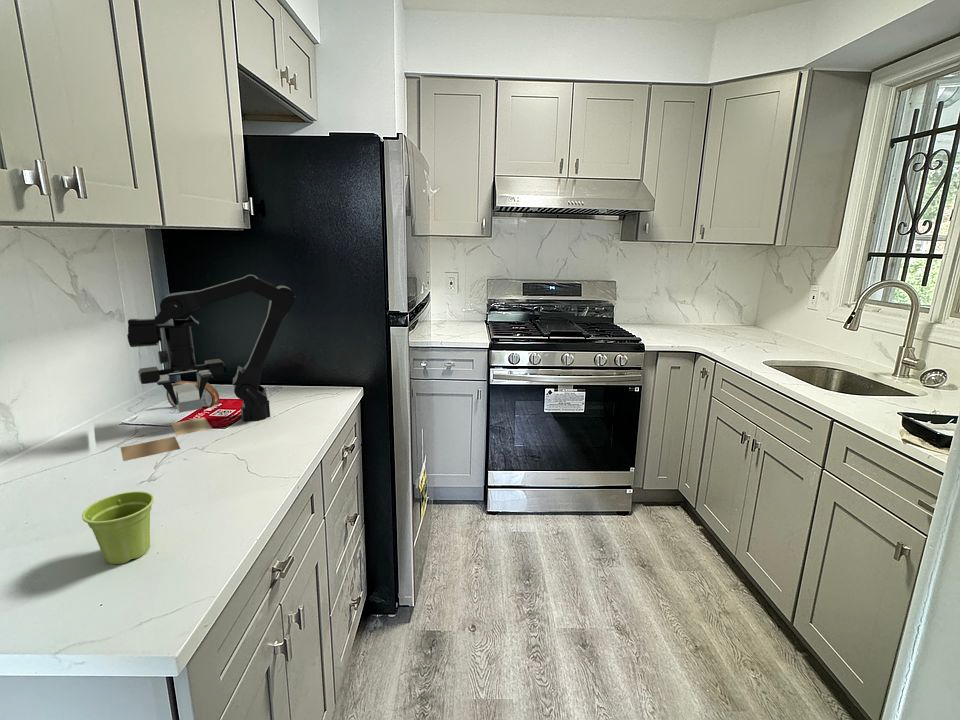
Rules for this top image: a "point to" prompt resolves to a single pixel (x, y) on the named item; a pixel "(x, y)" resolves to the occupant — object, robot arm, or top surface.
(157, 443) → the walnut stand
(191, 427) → the oak stand
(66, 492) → the top surface
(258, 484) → the top surface
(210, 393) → the tin
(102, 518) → the plant pot
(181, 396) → the block
